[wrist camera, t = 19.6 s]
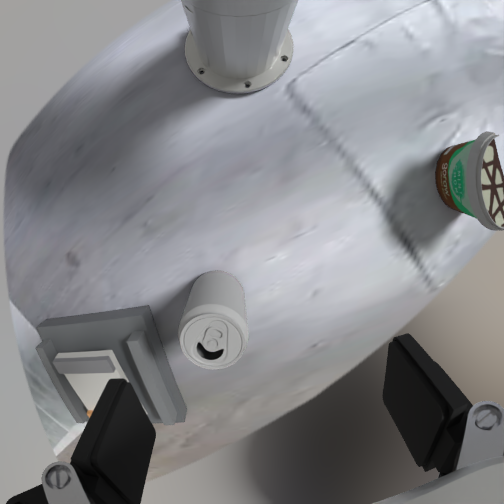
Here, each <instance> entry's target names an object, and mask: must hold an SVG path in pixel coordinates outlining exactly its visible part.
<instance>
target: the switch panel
mask: <svg viewBox="0 0 504 504" xmlns="http://www.w3.org/2000/svg"><path fill="white" fill-rule="evenodd" d="M37 330H38V332H39V335H40V337H41V339H42V342H41V343H40V344H39V345H38V346H37V347H36V350H37V352H38V354H39V356H40V358H41V360H42V362H43V364H44V366H45V368H46V370H47V372H48V374H49V376H50V378H51V380H52V382H53V384H54V385H55V387H56V389H57V391H58V393H59V394H60V396H61V398H62V399H63V401H64V403H65V404H66V406H67V408H68V409H69V411H70V413H71V414H72V416H73V417H74V419H75V420H76V422H77V423H85V421H86V422H88V420H89V417H88V415H87V412H88V409H87V408H86V406H85V405H84V404H83V402H82V401H81V399H80V398H79V396H78V395H77V393H76V392H75V390H74V389H73V387H72V386H71V384H70V383H69V381H68V380H67V378H66V376H65V375H64V374H59V372H58V371H57V369H56V367H55V366H54V364H53V360H54V359H55V357H56V356H57V354H58V353H69V352H87V351H102V350H112V351H113V353H114V355H115V357H116V359H117V360H118V362H119V364H120V366H121V368H122V370H123V372H124V374H125V376H126V377H127V379H128V381H129V382H130V383H131V384H132V386H133V388H134V390H135V392H136V394H137V396H138V398H139V400H140V402H141V404H142V405H143V407H144V408H145V410H146V412H147V413H148V414H147V416H148V418H149V419H150V421H151V423H164V425H175V423H177V422H185V418H186V412H187V407H186V405H185V403H184V400H183V398H182V396H181V393H180V391H179V388H178V386H177V383H176V381H175V378H174V376H173V373H172V370H171V368H170V365H169V363H168V360H167V357H166V354H165V352H164V349H163V346H162V343H161V340H160V338H159V335H158V332H157V329H156V326H155V323H154V320H153V317H152V314H151V310H150V307H149V305H148V306H141V307H134V308H127V309H120V310H113V311H106V312H99V313H91V314H84V315H76V316H68V317H60V318H52V319H46V320H45V321H44V322H43V323H41V324H40V325H39V326H38V327H37Z"/></svg>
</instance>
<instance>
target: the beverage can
mask: <svg viewBox="0 0 504 504" xmlns="http://www.w3.org/2000/svg"><path fill="white" fill-rule="evenodd" d="M178 338H179V342H180V345H181V349H182V351H183V353H184V355H185V356H186V357H187V358H188V359H189V360H190V361H191V362H192V363H194V364H195V365H197V366H199V367H202V368H206V369H213V370H215V369H223V368H226V367H229V366H231V365H233V364H234V363H235V362H237V361H238V360H239V359H240V357H241V356H242V354H243V352H244V350H245V349H246V347H247V344H248V340H249V331H248V323H247V314H246V305H245V296H244V290H243V287H242V285H241V283H240V282H239V280H238V279H237V278H236V277H234V276H233V275H232V274H230V273H227V272H224V271H210V272H207V273H205V274H203V275H201V276H200V277H199V278H198V279H197V280H196V281H195V283H194V284H193V287H192V289H191V292H190V295H189V298H188V301H187V303H186V306H185V309H184V312H183V315H182V318H181V321H180V324H179V328H178Z"/></svg>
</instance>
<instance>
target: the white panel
mask: <svg viewBox="0 0 504 504" xmlns="http://www.w3.org/2000/svg"><path fill="white" fill-rule="evenodd" d="M53 364H54V366H55V367H56V369H57V371H58V372H59V374H64V375H65V376H66V378H67V380H68V381H69V383H70V384H71V386H72V387H73V389H74V390H75V392H76V393H77V395H78V396H79V398H80V399H81V401H82V402H83V404H84V405H85V406H86V408H87V409H88V412H87V415H88V417H89V418H90V416H91V414H92V412H93V410H94V408H95V406H96V404H97V402H98V400H99V398H100V396H101V394H102V392H103V390H104V388H105V386H106V384H107V382H108V381H109V379H118V378H123V379H126V380H127V382H129V381H128V379H127V377H126V376H125V374H124V372H123V370H122V368H121V366H120V364H119V362H118V360H117V359H116V357H115V355H114V353H113V351H112V350H102V351H87V352H69V353H58V354H57V356H56V357H55V359H54V360H53ZM142 406H143V405H142ZM143 408H144V407H143ZM144 410H145V408H144ZM145 412H146V410H145ZM146 414H148V413H147V412H146Z"/></svg>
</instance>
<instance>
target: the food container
mask: <svg viewBox="0 0 504 504" xmlns="http://www.w3.org/2000/svg"><path fill="white" fill-rule="evenodd" d="M497 136H499V135H495V133H492V132H484V133H482V134H481V135H480V136H478V138H477V139H476V140H473V141H469V142H465V143H461V144H458V145H454V146H451V147H449V148H447V149H446V150H445V151H444V152H443V153H442V154H441V156H440V158H439V160H438V162H437V167H436V172H435V176H436V186H437V190H438V193H439V195H440V197H441V199H442V200H443V202H444V203H445V204H446V205H447V206H448V207H450V208H452V209H454V210H457V211H459V212H462V213H465V214H467V215H470V216H472V217H475V218H477V219H478V221H479V222H480V223H481V224H482V225H483V226H485V227H486V228H488V229H490V230H504V175H503V172H502V168H501V165H500V161H499V158H498V153H497V149H496V144H495V140H494V138H495V137H497Z"/></svg>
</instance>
